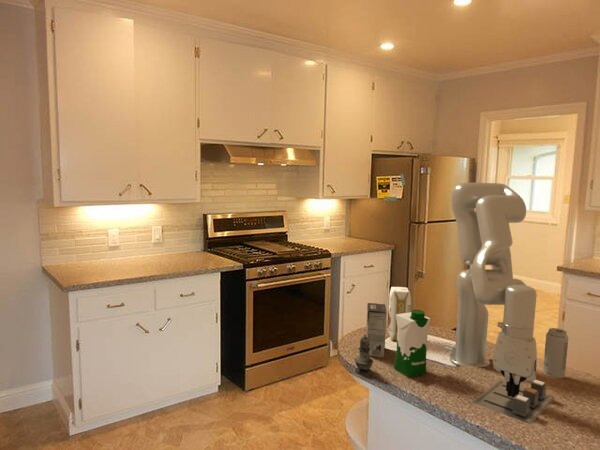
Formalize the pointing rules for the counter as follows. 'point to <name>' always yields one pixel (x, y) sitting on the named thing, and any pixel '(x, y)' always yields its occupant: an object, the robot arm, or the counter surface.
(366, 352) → the grey ornate incense burner
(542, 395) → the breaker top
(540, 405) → the panel
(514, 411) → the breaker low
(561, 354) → the energy drink can
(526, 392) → the block
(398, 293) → the juice carton
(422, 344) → the milk carton
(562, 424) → the counter surface
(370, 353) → the coffee box
